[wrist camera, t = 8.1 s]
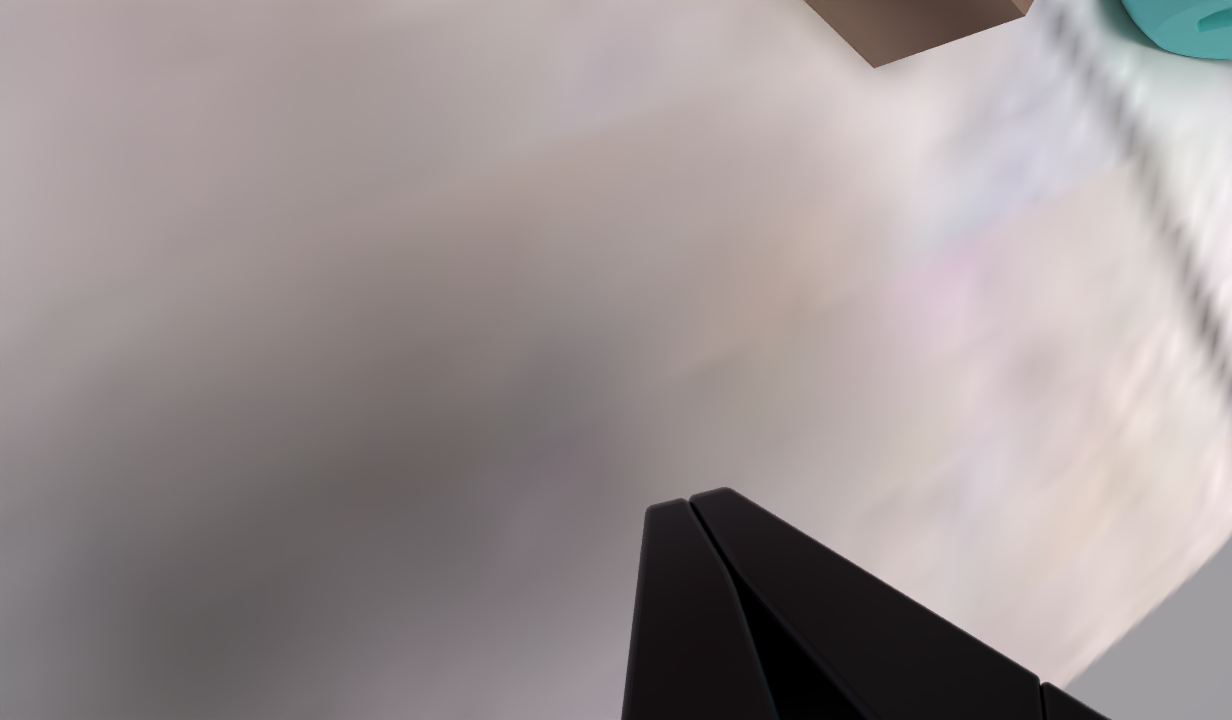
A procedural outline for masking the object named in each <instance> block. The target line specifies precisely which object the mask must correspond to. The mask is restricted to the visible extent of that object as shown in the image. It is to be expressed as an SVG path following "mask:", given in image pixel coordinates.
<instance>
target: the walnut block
mask: <svg viewBox="0 0 1232 720" xmlns="http://www.w3.org/2000/svg"><path fill="white" fill-rule="evenodd" d="M804 1H805V2H806V3H807V4H808V5H809V6H810V7H811V8H812V9H813V10H814V11H816V12H817V13H818V14H819V15H820V16H821V17H822V18H823V19H824V20H825V21H826V22H827V23H828V24H829V25H830V26H831V27H832V28H833V29H834V30H835V31H836V32H837V33H838V34H839V35H840V36H841V37H842V38H843V39H844V40H845V41H847V42H848V43H849V44H850V45H851V46H852V47H853V48H854V49H855V50H856V51H857V52H858V53H859V54H860V55H861V56H862V57H863V58H864V59H865V60H866V61H867V62H868V63H869V64H870V65H871V66H872V67H873V68H876V67H879V66H882V65H885V64H887V63H890V62H893V61H896V60H899V59H902V58H905V57H908V56H911V55H914V54H916V53H919V52H922V51H925V50H928V49H931V48H934V47H937V46H940V45H943V44H945V43H948V42H951V41H954V40H957V39H960V38H963V37H966V36H969V35H972V34H974V33H977V32H980V31H983V30H986V29H989V28H992V27H995V26H998V25H1001V24H1003V23H1006V22H1009V21H1012V20H1015V19H1018V18H1021V17H1024V16H1025V15H1026V14H1027V12H1028V10H1029V8H1030V6H1031V5H1032V3H1033V1H1034V0H804Z"/></svg>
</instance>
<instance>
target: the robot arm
mask: <svg viewBox="0 0 1232 720" xmlns="http://www.w3.org/2000/svg"><path fill="white" fill-rule="evenodd" d="M621 720H1111V719H1109V718H1107V717H1106V716H1104V715H1102V714H1101V713H1099V712H1097V711H1096V710H1094V709H1092V708H1090V707H1089V706H1087V705H1086V704H1084V703H1082V702H1081V701H1079V700H1077V699H1076V698H1074V697H1072V696H1071V695H1069V694H1068V693H1066V692H1064V691H1063V690H1061V689H1059V688H1058V687H1056V686H1054V685H1053V684H1051V683H1049V682H1044V683H1042V684H1041V686H1040V679H1039V677H1038V676H1037V675H1036V674H1034V673H1033V672H1031V671H1029V670H1028V669H1026V668H1024V667H1023V666H1021V665H1019V664H1018V663H1016V662H1015V661H1013V660H1011V659H1010V658H1008V657H1006V656H1005V655H1003V654H1001V653H1000V652H998V651H997V650H995V649H993V648H992V647H990V646H988V645H987V644H985V643H983V642H982V641H980V640H979V639H977V638H975V637H974V636H972V635H970V634H969V633H967V632H965V631H964V630H962V629H961V628H959V627H957V626H956V625H954V624H952V623H951V622H949V621H947V620H946V619H944V618H943V617H941V616H939V615H938V614H936V613H934V612H933V611H931V610H929V609H928V608H926V607H925V606H923V605H921V604H920V603H918V602H916V601H915V600H913V599H911V598H910V597H908V596H906V595H905V594H903V593H902V592H900V591H898V590H897V589H895V588H893V587H892V586H890V585H888V584H887V583H885V582H884V581H882V580H880V579H879V578H877V577H875V576H874V575H872V574H870V573H869V572H867V571H866V570H864V569H862V568H861V567H859V566H857V565H856V564H854V563H852V562H851V561H849V560H848V559H846V558H844V557H843V556H841V555H839V554H838V553H836V552H834V551H833V550H831V549H830V548H828V547H826V546H825V545H823V544H821V543H820V542H818V541H816V540H815V539H813V538H812V537H810V536H808V535H807V534H805V533H803V532H802V531H800V530H798V529H797V528H795V527H794V526H792V525H790V524H789V523H787V522H785V521H784V520H782V519H780V518H779V517H777V516H776V515H774V514H772V513H771V512H769V511H767V510H766V509H764V508H762V507H761V506H759V505H758V504H756V503H754V502H753V501H751V500H749V499H748V498H746V497H744V496H743V495H741V494H740V493H738V492H736V491H735V490H733V489H731V488H727V487H722V488H718V489H714V490H710V491H706V492H702V493H698V494H694V495H692V496H691V497H690V499H689V501H687V500H685V499H682V498H679V499H675V500H671V501H667V502H663V503H659V504H655V505H651V506H649V507H648V508H647V510H646V513H645V521H644V529H643V538H642V546H641V555H640V563H639V572H638V580H637V589H636V597H635V606H634V615H633V623H632V632H631V640H630V649H629V657H628V666H627V674H626V683H625V691H624V700H623V708H622V717H621Z"/></svg>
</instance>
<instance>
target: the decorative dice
mask: <svg viewBox="0 0 1232 720" xmlns="http://www.w3.org/2000/svg"><path fill="white" fill-rule="evenodd" d="M1121 2H1122V4H1123V5H1124V7H1125V9H1126V11H1127V12H1128V14H1129V16H1130V17H1131V19H1132V20H1133V21H1134V22H1135V24H1136V25H1137V26H1138V27H1139V28H1140V29H1141V30H1142V31H1143V32H1144V33H1145V34H1146V35H1147V36H1148V37H1149V38H1150V39H1151V40H1153V41H1154V42H1155V43H1156V44H1157V45H1158V46H1160V47H1161V48H1163V49H1165V50H1167V51H1170V52H1173V53H1177V54H1181V55H1186V56H1192V57H1200V58H1212V59H1232V0H1121Z"/></svg>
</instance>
